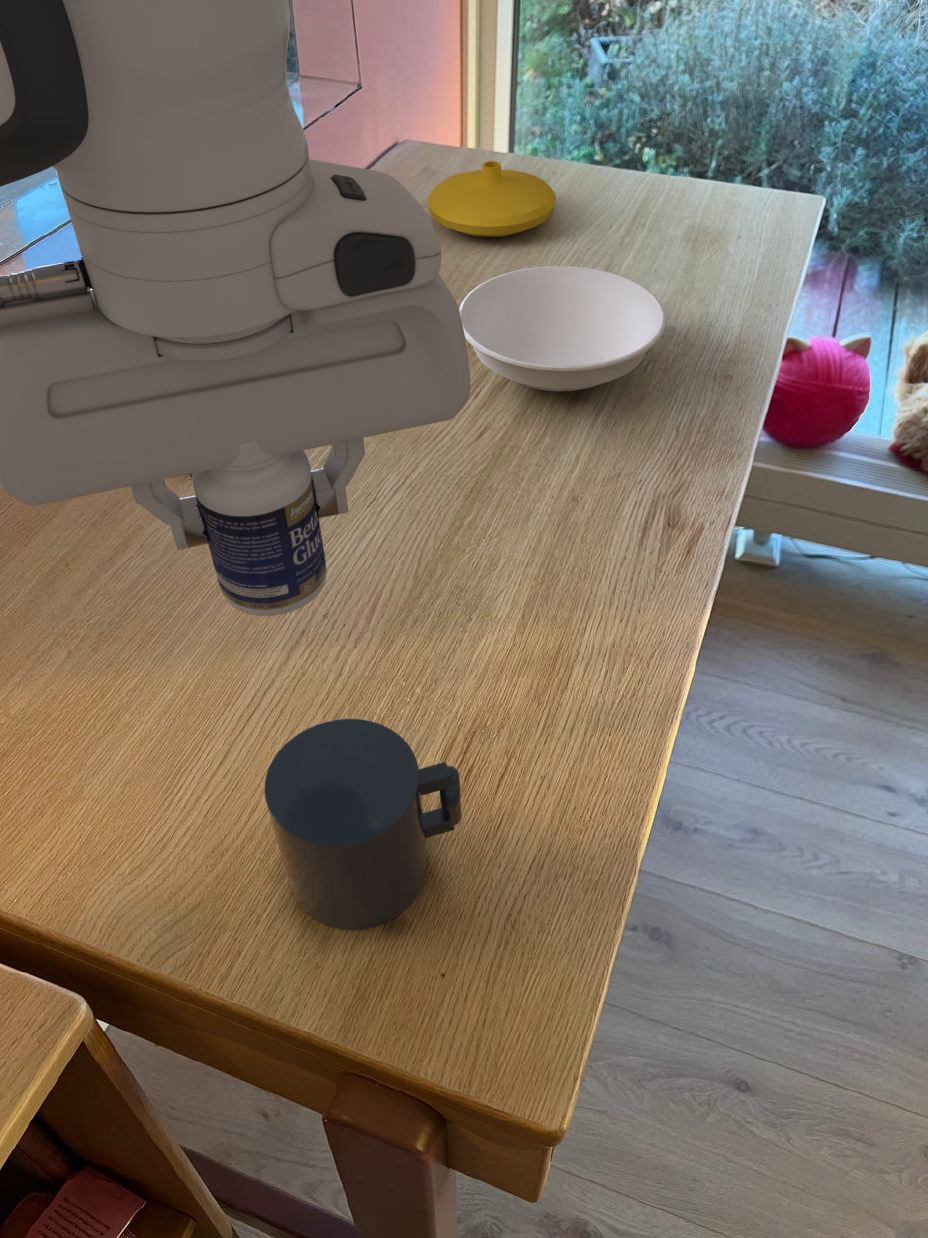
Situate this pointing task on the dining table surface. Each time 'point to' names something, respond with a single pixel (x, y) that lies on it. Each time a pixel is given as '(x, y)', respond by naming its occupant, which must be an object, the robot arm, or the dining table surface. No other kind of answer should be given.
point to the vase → (491, 201)
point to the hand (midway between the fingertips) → (263, 523)
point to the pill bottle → (263, 530)
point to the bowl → (561, 326)
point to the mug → (356, 820)
